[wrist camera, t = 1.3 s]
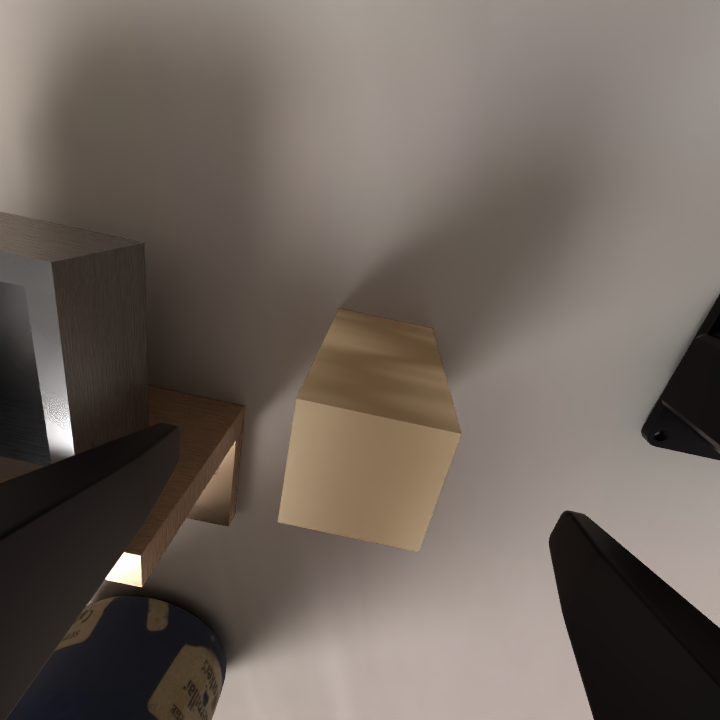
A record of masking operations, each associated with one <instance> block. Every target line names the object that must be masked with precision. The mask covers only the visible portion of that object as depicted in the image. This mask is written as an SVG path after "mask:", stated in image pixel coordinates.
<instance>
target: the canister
mask: <svg viewBox="0 0 720 720" xmlns="http://www.w3.org/2000/svg"><path fill="white" fill-rule="evenodd" d="M225 673H226V658H225V654H224V651H223V648H222V646H221V644H220V642H219V640H218V638H217V637H216V635H215V634H214V633H213V632H212V631H211V630H210V629H209V627H208V626H206V625H205V624H204V623H203V622H202V621H200V620H199V619H198V618H196V617H195V616H193V615H192V614H190V613H188V612H187V611H185V610H183V609H181V608H179V607H177V606H175V605H172V604H169V603H167V602H164V601H161V600H157V599H152V598H146V597H137V596H117V597H110V598H106V599H103V600H100V601H97V602H94V603H92V604H90V605H88V606H86V607H85V608H84V610H83V611H82V613H81V614H80V615H79V617H78V618H77V620H76V621H75V622H74V624H73V625H72V627H71V628H70V630H69V631H68V632H67V634H66V635H65V637H64V638H63V639H62V641H61V642H60V644H59V645H58V647H57V648H56V649H55V651H54V652H53V654H52V655H51V656H50V658H49V659H48V661H47V662H46V664H45V665H44V666H43V668H42V669H41V671H40V672H39V673H38V675H37V676H36V678H35V679H34V681H33V682H32V683H31V685H30V686H29V688H28V689H27V690H26V692H25V693H24V695H23V696H22V698H21V699H20V700H19V702H18V703H17V705H16V706H15V707H14V709H13V710H12V712H11V713H10V715H9V716H8V717H7V719H6V720H212V717H213V714H214V711H215V709H216V706H217V703H218V700H219V697H220V694H221V690H222V687H223V684H224V680H225Z"/></svg>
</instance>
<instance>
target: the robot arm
mask: <svg viewBox="0 0 720 720" xmlns="http://www.w3.org/2000/svg"><path fill="white" fill-rule="evenodd" d="M660 430H662V431H661V432H660V433H659V434H657V435H655V434H656V433H657V432H658V431H660ZM641 433H642V436H643V437H644V439H645V440H646V441H647V442H649V443H650V444H651V445H653V446H656V447H660V448H665V449H670V450H674V451H679V452H684V453H688V454H693V455H698V456H702V457H707V458H712V459H716V460H720V295H719V297H718V299H717V300H716V302H715V304H714V306H713V307H712V309H711V311H710V312H709V314H708V316H707V318H706V319H705V321H704V323H703V324H702V326H701V328H700V330H699V331H698V333H697V335H696V336H695V338H694V340H693V342H692V343H691V345H690V347H689V348H688V350H687V352H686V354H685V355H684V357H683V359H682V360H681V362H680V364H679V366H678V367H677V369H676V371H675V372H674V374H673V376H672V378H671V379H670V381H669V383H668V384H667V386H666V388H665V390H664V391H663V393H662V395H661V396H660V398H659V400H658V402H657V403H656V405H655V407H654V408H653V410H652V412H651V414H650V415H649V417H648V419H647V421H646V422H645V424H644V426H643V427H642V430H641ZM179 458H180V428H179V427H178V426H177V425H173V424H168V423H163V422H161V423H157V424H155V425H152V426H149V427H147V428H144V429H141V430H139V431H136V432H134V433H131V434H128V435H126V436H123V437H120V438H118V439H115V440H113V441H110V442H107V443H105V444H102V445H100V446H97V447H94V448H92V449H89V450H86V451H84V452H81V453H79V454H76V455H73V456H71V457H68V458H65V459H63V460H60V461H58V462H55V463H52V464H50V465H47V466H44V467H42V468H39V469H37V470H34V471H31V472H29V473H26V474H23V475H21V476H18V477H16V478H13V479H10V480H8V481H5V482H2V483H0V720H6V719H7V717H8V716H9V715H10V713H11V712H12V710H13V709H14V707H15V706H16V705H17V703H18V702H19V700H20V699H21V698H22V696H23V695H24V693H25V692H26V690H27V689H28V688H29V686H30V685H31V683H32V682H33V681H34V679H35V678H36V676H37V675H38V673H39V672H40V671H41V669H42V668H43V666H44V665H45V664H46V662H47V661H48V659H49V658H50V656H51V655H52V654H53V652H54V651H55V649H56V648H57V647H58V645H59V644H60V642H61V641H62V639H63V638H64V637H65V635H66V634H67V632H68V631H69V630H70V628H71V627H72V625H73V624H74V622H75V621H76V620H77V618H78V617H79V615H80V614H81V613H82V611H83V610H84V608H85V607H86V605H87V604H88V603H89V601H90V600H91V598H92V597H93V596H94V594H95V593H96V591H97V590H98V588H99V587H100V586H101V584H102V583H103V581H104V580H105V579H106V577H107V576H108V574H109V573H110V571H111V570H112V569H113V567H114V566H115V564H116V563H117V562H118V560H119V559H120V557H121V556H122V554H123V553H124V552H125V550H126V549H127V547H128V546H129V545H130V543H131V542H132V540H133V539H134V537H135V536H136V535H137V533H138V532H139V530H140V529H141V527H142V526H143V524H144V523H145V521H146V519H147V518H148V516H149V514H150V512H151V511H152V509H153V507H154V505H155V504H156V502H157V500H158V498H159V496H160V495H161V493H162V491H163V489H164V487H165V486H166V484H167V482H168V480H169V478H170V477H171V475H172V473H173V471H174V469H175V468H176V466H177V464H178V461H179ZM549 548H550V553H551V559H552V564H553V569H554V574H555V579H556V584H557V589H558V594H559V599H560V604H561V609H562V613H563V617H564V621H565V624H566V628H567V631H568V634H569V638H570V641H571V645H572V648H573V651H574V655H575V658H576V661H577V665H578V668H579V671H580V675H581V678H582V681H583V685H584V688H585V691H586V695H587V698H588V701H589V705H590V708H591V711H592V715H593V718H594V720H720V628H719V627H718V626H717V625H715V624H714V623H713V622H712V621H711V620H709V619H708V618H707V617H706V616H705V615H704V614H702V613H701V612H700V611H699V610H698V609H696V608H695V607H694V606H693V605H692V604H690V603H689V602H688V601H687V600H686V599H685V598H683V597H682V596H681V595H680V594H679V593H677V592H676V591H675V590H674V589H673V588H672V587H670V586H669V585H668V584H667V583H666V582H664V581H663V580H662V579H661V578H660V577H658V576H657V575H656V574H655V573H654V572H653V571H651V570H650V569H649V568H648V567H647V566H645V565H644V564H643V563H642V562H641V561H640V560H638V559H637V558H636V557H635V556H634V555H632V554H631V553H630V552H629V551H628V550H627V549H625V548H624V547H623V546H622V545H621V544H619V543H618V542H617V541H616V540H615V539H613V538H612V537H611V536H610V535H609V534H608V533H606V532H605V531H604V530H603V529H602V528H600V527H599V526H598V525H597V524H596V523H595V522H593V521H592V520H591V519H590V518H589V517H587V516H586V515H585V514H582V513H578V512H573V511H564V512H563V513H562V514H561V516H560V518H559V520H558V522H557V523H556V525H555V527H554V529H553V531H552V533H551V535H550V538H549Z"/></svg>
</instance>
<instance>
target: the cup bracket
mask: <svg viewBox="0 0 720 720" xmlns="http://www.w3.org/2000/svg"><path fill="white" fill-rule="evenodd" d="M244 408H245V406H241V405H236V404H231V403H227V402H222V401H217V400H213V399H208V398H203V397H199V396H194V395H189V394H185V393H180V392H175V391H171V390H166V389H161V388H156V387H152V386H148V367H147V328H146V289H145V250H144V243H142V242H138V241H133V240H128V239H124V238H119V237H115V236H110V235H105V234H101V233H96V232H91V231H87V230H82V229H77V228H73V227H68V226H64V225H59V224H54V223H50V222H45V221H40V220H36V219H31V218H26V217H22V216H17V215H12V214H8V213H3V212H0V483H2V482H5V481H8V480H10V479H13V478H16V477H18V476H21V475H23V474H26V473H29V472H31V471H34V470H37V469H39V468H42V467H44V466H47V465H50V464H52V463H55V462H58V461H60V460H63V459H65V458H68V457H71V456H73V455H76V454H79V453H81V452H84V451H86V450H89V449H92V448H94V447H97V446H100V445H102V444H105V443H107V442H110V441H113V440H115V439H118V438H120V437H123V436H126V435H128V434H131V433H134V432H136V431H139V430H141V429H144V428H147V427H149V426H152V425H155V424H157V423H161V422H163V423H168V424H173V425H177V426H178V427H179V428H180V458H179V461H178V464H177V466H176V468H175V469H174V471H173V473H172V475H171V477H170V478H169V480H168V482H167V484H166V486H165V487H164V489H163V491H162V493H161V495H160V496H159V498H158V500H157V502H156V504H155V505H154V507H153V509H152V511H151V512H150V514H149V516H148V518H147V519H146V521H145V523H144V524H143V526H142V527H141V529H140V530H139V532H138V533H137V535H136V536H135V537H134V539H133V540H132V542H131V543H130V545H129V546H128V547H127V549H126V550H125V552H124V553H123V554H122V556H121V557H120V559H119V560H118V562H117V563H116V564H115V566H114V567H113V569H112V570H111V571H110V573H109V574H108V576H107V577H106V579H105V580H109V581H114V582H118V583H123V584H128V585H133V586H137V587H143V585H144V583H145V582H146V580H147V579H148V577H149V576H150V574H151V572H152V571H153V569H154V568H155V566H156V565H157V563H158V561H159V560H160V558H161V557H162V555H163V554H164V552H165V551H166V549H167V547H168V546H169V544H170V543H171V541H172V540H173V538H174V536H175V535H176V533H177V532H178V530H179V529H180V527H181V525H182V524H183V522H184V521H185V519H186V518H191V519H195V520H200V521H205V522H209V523H214V524H219V525H223V526H228V527H229V525H230V523H231V521H232V519H233V517H234V515H235V508H236V497H237V486H238V475H239V464H240V453H241V442H242V431H243V419H244Z"/></svg>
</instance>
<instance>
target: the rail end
mask: <svg viewBox="0 0 720 720" xmlns="http://www.w3.org/2000/svg"><path fill="white" fill-rule="evenodd" d="M460 437H461V430H460V426H459V423H458V419H457V415H456V412H455V408H454V405H453V401H452V397H451V394H450V390H449V386H448V383H447V379H446V375H445V372H444V368H443V364H442V361H441V357H440V353H439V350H438V346H437V343H436V339H435V335H434V332H433V329H432V328H427V327H423V326H418V325H414V324H409V323H404V322H400V321H395V320H390V319H386V318H381V317H376V316H372V315H367V314H362V313H358V312H353V311H349V310H344V309H338V311H337V314H336V316H335V318H334V320H333V322H332V324H331V326H330V328H329V330H328V333H327V335H326V337H325V339H324V341H323V343H322V345H321V347H320V349H319V351H318V354H317V356H316V358H315V360H314V362H313V364H312V366H311V368H310V370H309V373H308V375H307V377H306V379H305V381H304V383H303V385H302V387H301V389H300V391H299V394H298V396H297V398H296V403H295V410H294V416H293V423H292V429H291V436H290V443H289V449H288V456H287V463H286V469H285V476H284V483H283V489H282V496H281V503H280V509H279V516H278V522H279V523H284V524H289V525H293V526H298V527H303V528H307V529H312V530H317V531H321V532H326V533H331V534H335V535H340V536H345V537H350V538H354V539H359V540H364V541H368V542H373V543H378V544H382V545H387V546H392V547H396V548H401V549H406V550H411V551H415V552H419V550H420V547H421V544H422V542H423V539H424V536H425V533H426V531H427V528H428V525H429V522H430V520H431V517H432V514H433V511H434V509H435V506H436V503H437V500H438V498H439V495H440V492H441V489H442V487H443V484H444V481H445V478H446V476H447V473H448V470H449V467H450V465H451V462H452V459H453V456H454V454H455V451H456V448H457V445H458V443H459V440H460Z"/></svg>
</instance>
